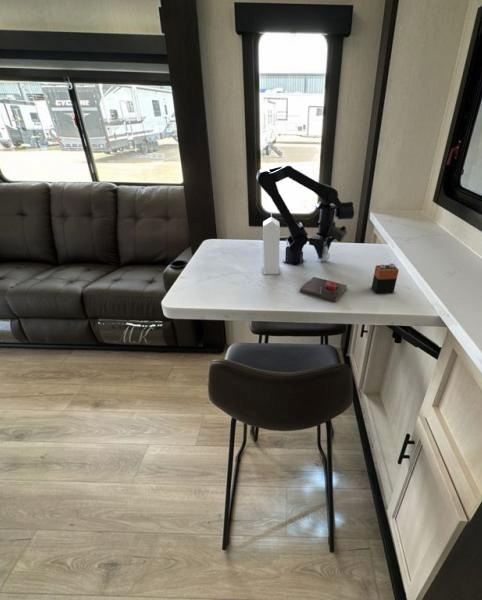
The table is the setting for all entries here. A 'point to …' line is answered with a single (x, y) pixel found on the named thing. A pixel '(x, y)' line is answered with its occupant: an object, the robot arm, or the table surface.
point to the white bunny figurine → (324, 255)
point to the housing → (322, 289)
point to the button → (331, 285)
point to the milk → (271, 245)
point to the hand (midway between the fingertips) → (323, 256)
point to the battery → (385, 278)
